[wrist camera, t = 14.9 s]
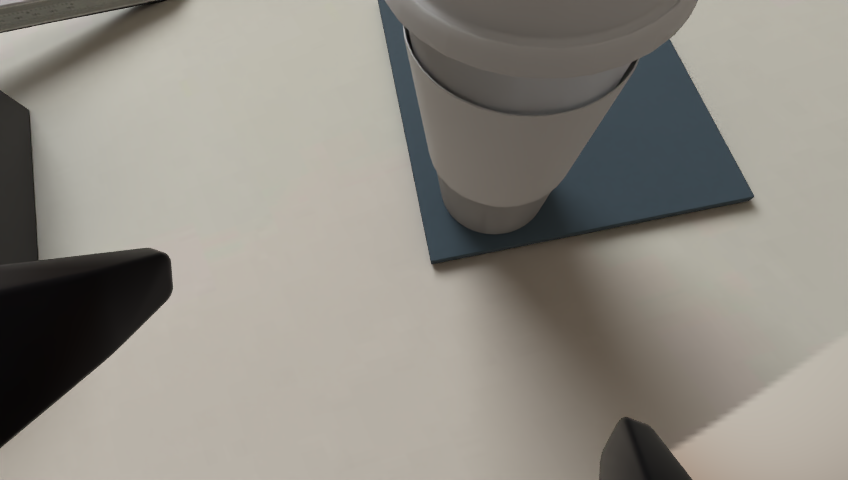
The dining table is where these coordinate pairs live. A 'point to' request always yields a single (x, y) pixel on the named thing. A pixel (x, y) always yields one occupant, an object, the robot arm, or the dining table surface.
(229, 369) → the dining table surface
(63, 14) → the caliper
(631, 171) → the mat
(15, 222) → the holder
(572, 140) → the cup
